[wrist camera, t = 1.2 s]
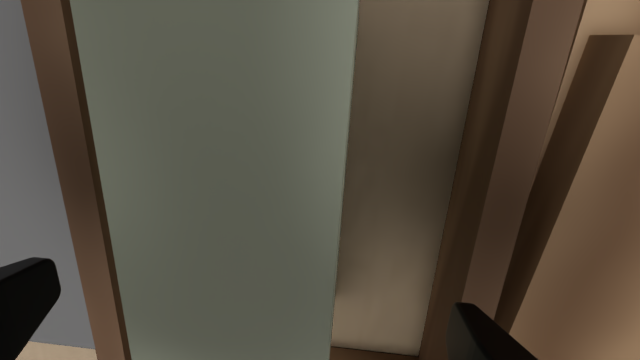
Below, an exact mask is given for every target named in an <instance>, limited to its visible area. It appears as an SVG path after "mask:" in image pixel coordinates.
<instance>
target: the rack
mask: <svg viewBox="0 0 640 360" xmlns="http://www.w3.org/2000/svg"><path fill="white" fill-rule="evenodd" d="M20 1H21V5H22V10H23V15H24V19H25V24H26V28H27V33H28V38H29V42H30V47H31V52H32V56H33V61H34V66H35V70H36V75H37V80H38V84H39V89H40V94H41V98H42V103H43V108H44V112H45V117H46V122H47V126H48V131H49V136H50V140H51V145H52V150H53V154H54V159H55V163H56V168H57V173H58V177H59V182H60V187H61V191H62V196H63V201H64V205H65V210H66V215H67V219H68V224H69V229H70V233H71V238H72V243H73V247H74V252H75V257H76V261H77V266H78V271H79V275H80V280H81V284H82V289H83V294H84V298H85V303H86V308H87V312H88V317H89V322H90V326H91V331H92V336H93V340H94V345H95V350H96V354H97V359H98V360H132V359H131V353H130V348H129V342H128V336H127V330H126V324H125V319H124V313H123V307H122V301H121V295H120V290H119V284H118V278H117V272H116V266H115V260H114V255H113V249H112V243H111V237H110V231H109V226H108V220H107V214H106V208H105V202H104V197H103V191H102V185H101V179H100V173H99V168H98V162H97V156H96V150H95V144H94V138H93V133H92V127H91V121H90V115H89V109H88V104H87V98H86V92H85V86H84V80H83V75H82V69H81V63H80V57H79V51H78V46H77V40H76V34H75V28H74V22H73V17H72V11H71V5H70V0H20ZM583 2H584V0H490V2H489V7H488V12H487V17H486V22H485V27H484V32H483V37H482V42H481V47H480V52H479V57H478V62H477V67H476V72H475V77H474V82H473V87H472V92H471V97H470V102H469V107H468V112H467V117H466V122H465V127H464V132H463V137H462V142H461V147H460V152H459V157H458V162H457V167H456V172H455V177H454V182H453V187H452V192H451V197H450V202H449V207H448V213H447V218H446V223H445V228H444V233H443V238H442V243H441V248H440V253H439V258H438V263H437V268H436V273H435V278H434V283H433V288H432V293H431V298H430V303H429V308H428V313H427V318H426V323H425V328H424V333H423V338H422V343H421V348H420V353H419V357H414V356H405V355H396V354H388V353H379V352H371V351H362V350H354V349H345V348H336V347H331V348H330V359H329V360H448V354H447V347H446V330H447V325H448V321H449V316H450V312H451V308H452V305H453V303H455V302H465V303H473V304H475V305H476V306H478V307H479V308H480V309H481V310H482V311H483V312H484V313H486V314H487V315H488V316H489V317H490V318H491V319H492V320H494V317H495V313H496V310H497V306H498V303H499V299H500V296H501V292H502V288H503V285H504V281H505V278H506V274H507V271H508V267H509V264H510V260H511V257H512V253H513V250H514V246H515V242H516V239H517V235H518V232H519V228H520V225H521V221H522V218H523V214H524V211H525V207H526V204H527V200H528V197H529V193H530V189H531V186H532V182H533V179H534V175H535V172H536V168H537V165H538V161H539V158H540V154H541V151H542V147H543V143H544V140H545V136H546V133H547V129H548V126H549V122H550V119H551V115H552V112H553V108H554V105H555V101H556V98H557V94H558V90H559V87H560V83H561V80H562V76H563V73H564V69H565V66H566V62H567V59H568V55H569V52H570V48H571V45H572V41H573V37H574V34H575V30H576V27H577V23H578V20H579V16H580V13H581V9H582V6H583Z"/></svg>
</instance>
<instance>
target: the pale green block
mask: <svg viewBox="0 0 640 360" xmlns="http://www.w3.org/2000/svg"><path fill="white" fill-rule="evenodd" d="M70 5H71V11H72V17H73V22H74V28H75V34H76V40H77V46H78V51H79V57H80V63H81V69H82V75H83V80H84V86H85V92H86V98H87V104H88V109H89V115H90V121H91V127H92V133H93V138H94V144H95V150H96V156H97V162H98V168H99V173H100V179H101V185H102V191H103V197H104V202H105V208H106V214H107V220H108V226H109V231H110V237H111V243H112V249H113V255H114V260H115V266H116V272H117V278H118V284H119V290H120V295H121V301H122V307H123V313H124V319H125V324H126V330H127V336H128V342H129V348H130V353H131V359H132V360H329V359H330V348H331V336H332V325H333V314H334V303H335V291H336V280H337V268H338V256H339V245H340V233H341V221H342V209H343V198H344V186H345V174H346V162H347V151H348V139H349V127H350V115H351V104H352V92H353V80H354V68H355V57H356V45H357V33H358V21H359V0H70Z"/></svg>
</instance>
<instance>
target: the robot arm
mask: <svg viewBox="0 0 640 360" xmlns="http://www.w3.org/2000/svg"><path fill="white" fill-rule="evenodd" d="M60 294H61V285H60V281H59V277H58V273H57V268H56V265H55V262H54V261H53V260H51V259H49V258H40V257H31V258H28V259H24V260H21V261H18V262H15V263H12V264H9V265H6V266H3V267H0V360H15V359H16V358H17V357H18V355H19V354H20V352H21V351H22V350H23V348H24V347H25V346H26V344H27V343H28V341H29V340H30V339H31V337H32V336H33V334H34V333H35V331H36V330H37V329H38V327H39V326H40V324H41V323H42V322H43V320H44V319H45V317H46V316H47V315H48V313H49V312H50V310H51V309H52V308H53V306H54V305H55V303H56V302H57V300H58V299H59V297H60ZM446 347H447V354H448V360H538V359H537V358H536V357H535V356H534V355H533V354H531V353H530V352H529V351H528V350H527V349H526V348H525V347H523V346H522V345H521V344H520V343H519V342H518V341H517V340H515V339H514V338H513V337H512V336H511V335H510V334H509V333H507V332H506V331H505V330H504V329H503V328H502V327H500V326H499V325H498V324H497V323H496V322H495V321H494V320H492V319H491V318H490V317H489V316H488V315H487V314H486V313H484V312H483V311H482V310H481V309H480V308H479V307H478V306H476V305H475V304H473V303H465V302H455V303H453V305H452V308H451V312H450V316H449V321H448V325H447V330H446Z"/></svg>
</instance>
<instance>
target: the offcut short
mask: <svg viewBox="0 0 640 360" xmlns="http://www.w3.org/2000/svg"><path fill="white" fill-rule="evenodd" d="M494 321H495V322H496V323H497V324H498V325H499V326H500V327H502V328H503V329H504V330H505V331H506V332H507V333H509V334H510V335H511V336H512V337H513V338H514V339H515V340H517V341H518V342H519V343H520V344H521V345H522V346H523V347H525V348H526V349H527V350H528V351H529V352H530V353H531V354H533V355H534V356H535V357H536V358H537V359H538V360H640V35H589V38H588V40H587V43H586V46H585V48H584V51H583V54H582V56H581V59H580V62H579V64H578V67H577V69H576V72H575V75H574V77H573V80H572V83H571V85H570V88H569V91H568V93H567V96H566V99H565V101H564V104H563V107H562V109H561V112H560V114H559V117H558V120H557V122H556V125H555V128H554V130H553V133H552V136H551V138H550V141H549V144H548V146H547V149H546V152H545V154H544V157H543V159H542V162H541V165H540V167H539V170H538V173H537V175H536V178H535V181H534V183H533V186H532V189H531V191H530V194H529V197H528V200H527V204H526V207H525V211H524V214H523V218H522V221H521V225H520V228H519V232H518V235H517V239H516V242H515V246H514V250H513V253H512V257H511V260H510V264H509V267H508V271H507V274H506V278H505V281H504V285H503V288H502V292H501V296H500V299H499V303H498V306H497V310H496V313H495V317H494Z"/></svg>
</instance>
